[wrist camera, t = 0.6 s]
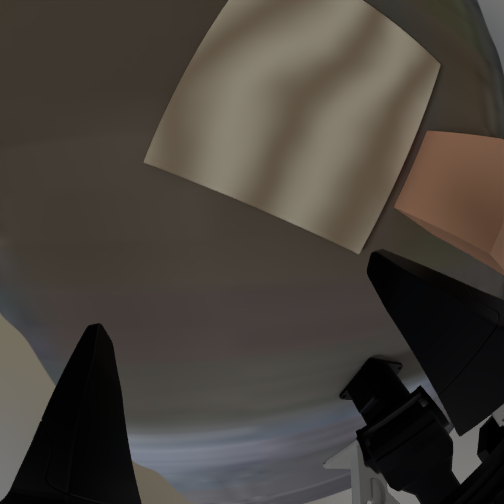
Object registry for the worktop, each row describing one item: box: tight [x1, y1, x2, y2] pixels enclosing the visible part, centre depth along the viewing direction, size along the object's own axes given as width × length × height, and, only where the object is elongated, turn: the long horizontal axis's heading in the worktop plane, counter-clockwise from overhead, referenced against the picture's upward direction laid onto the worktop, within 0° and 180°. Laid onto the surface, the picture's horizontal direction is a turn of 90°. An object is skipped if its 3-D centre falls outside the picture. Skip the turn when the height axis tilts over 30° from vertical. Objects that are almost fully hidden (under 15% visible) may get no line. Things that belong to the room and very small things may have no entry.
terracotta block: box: [394, 131, 504, 275], centre depth 17 cm, size 6×8×11 cm
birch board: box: [144, 0, 441, 254], centre depth 18 cm, size 18×20×1 cm
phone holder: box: [323, 440, 400, 504], centre depth 32 cm, size 17×10×18 cm, turn 53°
